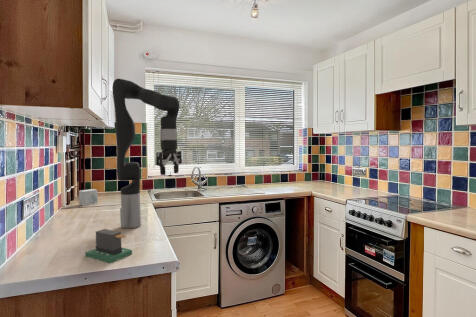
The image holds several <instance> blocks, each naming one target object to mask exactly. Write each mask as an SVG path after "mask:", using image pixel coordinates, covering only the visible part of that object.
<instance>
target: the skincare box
mask: <svg viewBox="0 0 476 317" xmlns="http://www.w3.org/2000/svg"><path fill="white" fill-rule="evenodd" d="M98 198H99V197H98V189H96V188H95V189H94V188H90V189H82V190H81V189H80V190H78V200H79V201H78V202H79V203H78V204H80V205H79V206H81V205H87V206H90V205H89V204H94V205H96V204H95V203H98V200H99V199H98Z"/></svg>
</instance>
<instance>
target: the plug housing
mask: <svg viewBox="0 0 476 317" xmlns="http://www.w3.org/2000/svg"><path fill="white" fill-rule="evenodd" d="M124 238H126V235H123V234H122V232H121V231H116V230H113V229H107V228H103V229H100V230H97V231H95V248H96V247H99V248H103V249H107V250H111V251H114V250H117V249H119V248H121V247H122V239H124Z"/></svg>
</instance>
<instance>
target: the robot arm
mask: <svg viewBox="0 0 476 317" xmlns="http://www.w3.org/2000/svg"><path fill="white" fill-rule="evenodd" d="M111 89H112V99H113V104H114V115H115V137H116V176H117V178H118V180H119V181H123V182H124V181H131V182H130V183H129V184H128V185H126V186H123V187H121V188H120V201H121V202H120V205H121V206H120V209H119V211H120V212H119V214H120V227H122V229H134V228H135V229H136V228H140V226H141V225H142V224H141V223H142V221H141V220H142V218H141V215H142V214H141V213H142V212H141V166H140V163H139V162H138V161H137V162H136V161H127V162H125V160H126V155H127V153H128V150H129V149H130V147H131V145H132V144H133V142H134V141H135V139H136V124H135V121H134V119H133V117H132V115H131V114H130V112H129V110H128V108H127V104H126V100H140V101H141V102H142V103H144V104H145V105H149V106H150V107H151V106H152V107H153V108H155V109H158V110H159V111H164V112H166V115H164V116H161V118H160V136H159V137H160V150H161V152H160V151H159V152H158V151H157V152H156V154H155V157H156V160H155V161H156V162H155V163H156V164H155V165H156V166H158V167H159V170H160V172H159V174H160V175H161V176H166V164H168V162H171V163H173V173H174V174H178V173H179V165H180V164H181V165H182V163H183V162H182V160H183V159H182V151H179V150H178V130H177V118H178V116H179V115H178V114H179V111H180V100H178V98H177V97H176V96H173V95H172V96H171V95H166V94H163V93H160V92H158V91H155V90H152V89H149V88H145V87H142V86H140V85H138V84H137V83H136V82H134V81H131V80H127V79H124V78H123V79H122V78H116V79H114V81H113V83H112V88H111ZM177 150H178V151H177Z"/></svg>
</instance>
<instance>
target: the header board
mask: <svg viewBox="0 0 476 317" xmlns="http://www.w3.org/2000/svg"><path fill="white" fill-rule="evenodd" d="M132 254H133V250H132V249H130V248H125V247H122V246H121V248H119V249H117V250H114V251H111V250H107V249H103V248H99V247H96V246H95V248H94V249H91V250H87V251H85V254H84V256H85V257H88V258H90V257H91V258H90V259H94V260H97V259H98V261H101V262H104V261H105V263H109V264H110V263H113V262H116V261H119V260H120V259H123V258H124V257H128V256H129V255H132Z"/></svg>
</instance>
